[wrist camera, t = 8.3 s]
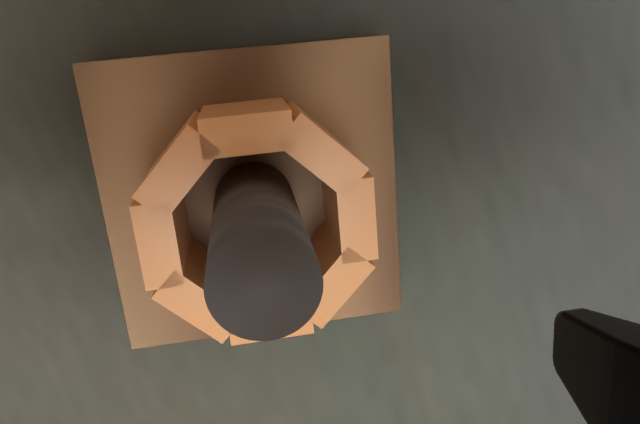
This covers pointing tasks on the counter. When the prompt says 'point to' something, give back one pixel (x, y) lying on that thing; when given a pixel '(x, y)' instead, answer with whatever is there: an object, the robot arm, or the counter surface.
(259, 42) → the counter surface
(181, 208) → the ring
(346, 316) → the shaft post
